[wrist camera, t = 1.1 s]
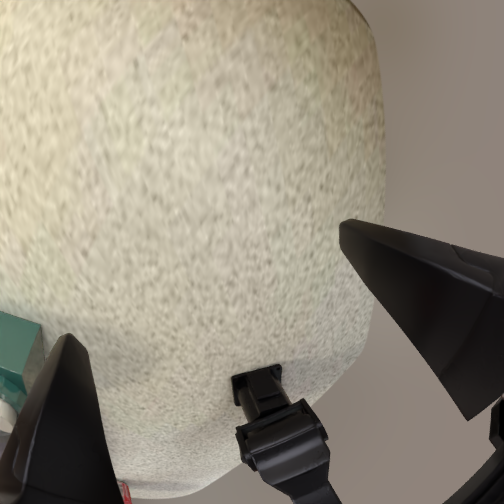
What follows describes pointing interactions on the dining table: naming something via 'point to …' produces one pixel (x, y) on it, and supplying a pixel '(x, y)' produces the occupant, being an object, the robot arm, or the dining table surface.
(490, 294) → the robot arm
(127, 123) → the dining table surface
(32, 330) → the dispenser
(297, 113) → the dining table surface
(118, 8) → the dining table surface
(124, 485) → the soda can
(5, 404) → the white push button
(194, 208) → the dining table surface
